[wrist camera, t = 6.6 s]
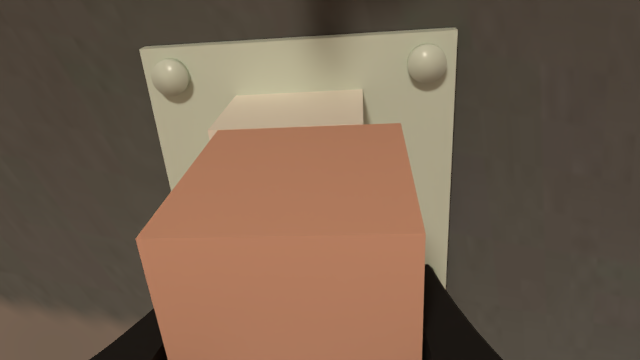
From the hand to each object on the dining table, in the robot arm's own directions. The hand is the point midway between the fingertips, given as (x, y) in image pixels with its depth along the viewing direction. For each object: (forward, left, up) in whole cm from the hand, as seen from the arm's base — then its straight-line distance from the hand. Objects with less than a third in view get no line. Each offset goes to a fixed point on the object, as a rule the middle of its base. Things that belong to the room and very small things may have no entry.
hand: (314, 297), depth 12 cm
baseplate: (-1, +1, -9) cm, 10 cm away
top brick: (0, 0, -2) cm, 2 cm away
